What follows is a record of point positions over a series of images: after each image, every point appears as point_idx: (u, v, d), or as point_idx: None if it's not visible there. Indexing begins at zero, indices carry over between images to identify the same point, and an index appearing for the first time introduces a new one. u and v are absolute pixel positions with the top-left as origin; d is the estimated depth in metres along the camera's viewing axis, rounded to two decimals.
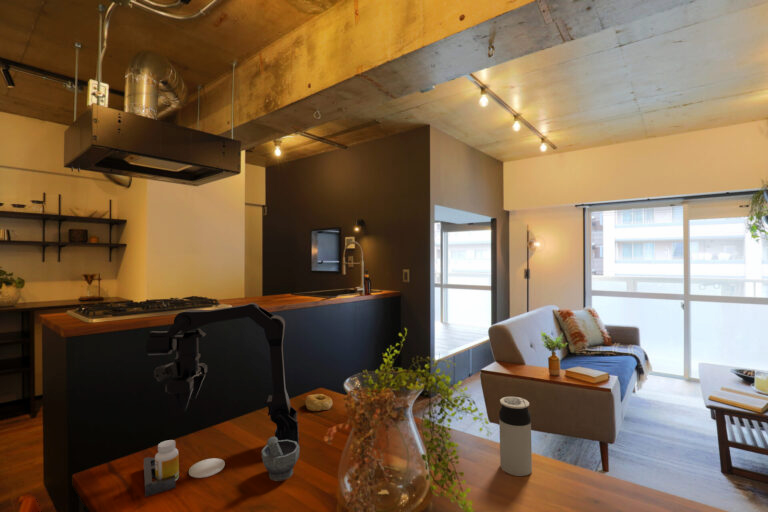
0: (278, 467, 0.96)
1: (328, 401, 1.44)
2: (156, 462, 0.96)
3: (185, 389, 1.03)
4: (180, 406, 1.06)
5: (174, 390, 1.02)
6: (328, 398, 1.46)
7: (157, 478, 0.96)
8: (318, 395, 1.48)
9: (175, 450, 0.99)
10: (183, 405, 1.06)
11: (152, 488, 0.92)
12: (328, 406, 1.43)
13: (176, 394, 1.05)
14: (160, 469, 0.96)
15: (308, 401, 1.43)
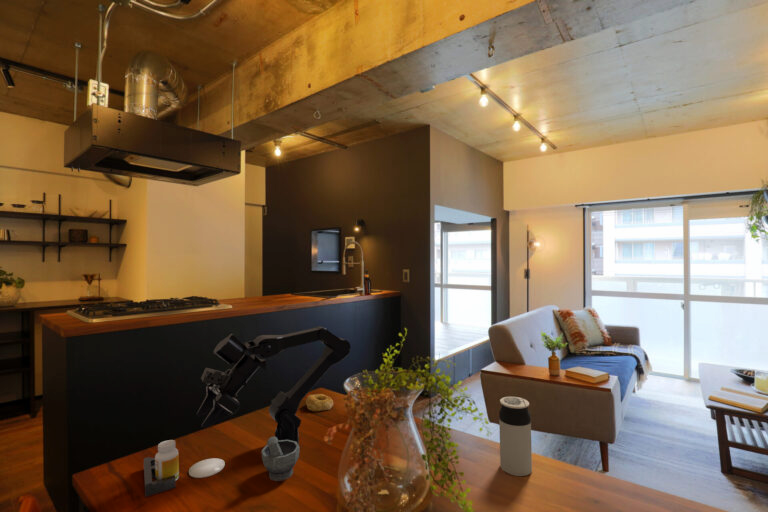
0: (278, 467, 0.96)
1: (329, 401, 1.44)
2: (156, 462, 0.96)
3: (233, 411, 0.99)
4: (207, 421, 0.99)
5: (225, 406, 0.98)
6: (328, 398, 1.46)
7: (157, 478, 0.96)
8: (319, 395, 1.48)
9: (175, 450, 0.99)
10: (209, 422, 1.00)
11: (152, 488, 0.92)
12: (329, 406, 1.42)
13: (216, 408, 1.00)
14: (160, 469, 0.96)
15: (309, 401, 1.43)
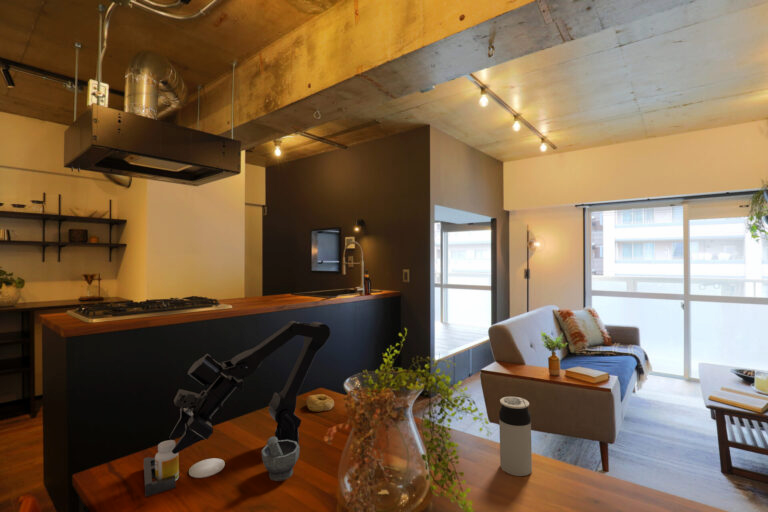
0: (278, 467, 0.96)
1: (329, 401, 1.44)
2: (156, 462, 0.96)
3: (206, 436, 0.95)
4: (178, 446, 0.95)
5: (197, 431, 0.94)
6: (329, 398, 1.46)
7: (157, 478, 0.96)
8: (319, 395, 1.48)
9: None
10: (181, 447, 0.96)
11: (152, 488, 0.92)
12: (330, 406, 1.42)
13: (188, 433, 0.96)
14: (160, 469, 0.96)
15: (309, 401, 1.42)
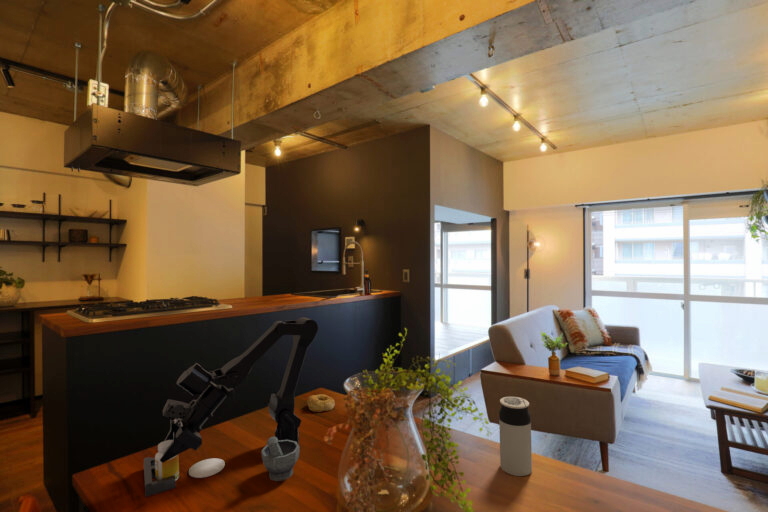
0: (278, 467, 0.96)
1: (330, 401, 1.44)
2: (156, 462, 0.96)
3: (194, 448, 0.94)
4: (166, 455, 0.95)
5: (185, 442, 0.93)
6: (330, 398, 1.45)
7: (157, 478, 0.96)
8: (320, 396, 1.48)
9: None
10: (169, 456, 0.96)
11: (152, 488, 0.92)
12: (330, 406, 1.42)
13: (176, 441, 0.96)
14: (160, 469, 0.96)
15: (310, 402, 1.42)
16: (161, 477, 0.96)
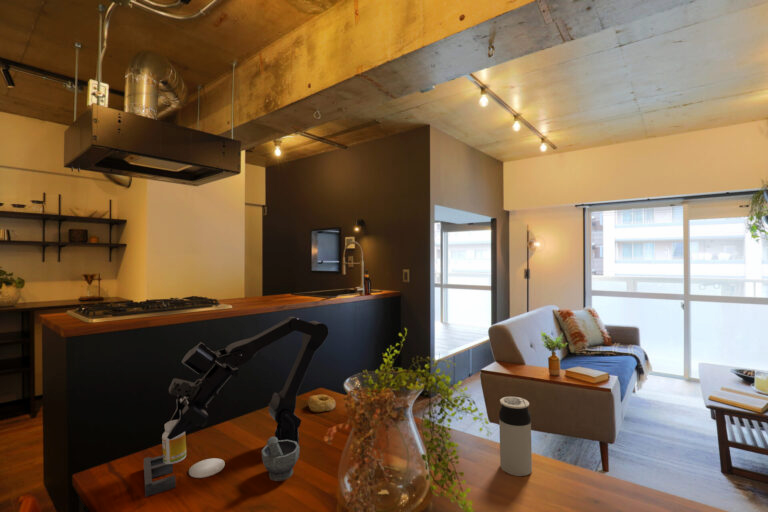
0: (278, 467, 0.96)
1: (331, 402, 1.43)
2: (163, 441, 0.97)
3: (201, 424, 0.95)
4: (173, 432, 0.96)
5: (192, 419, 0.94)
6: (331, 398, 1.45)
7: (165, 457, 0.97)
8: (321, 396, 1.47)
9: None
10: (176, 433, 0.97)
11: (152, 488, 0.92)
12: (331, 407, 1.42)
13: (182, 419, 0.97)
14: (167, 448, 0.97)
15: (311, 402, 1.42)
16: (169, 455, 0.97)
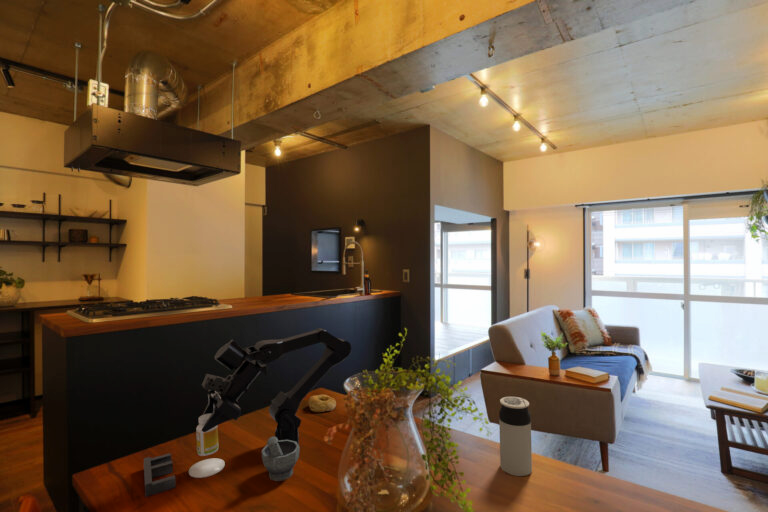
0: (278, 467, 0.96)
1: (331, 402, 1.43)
2: (198, 433, 1.02)
3: (234, 417, 0.99)
4: (207, 425, 1.01)
5: (226, 412, 0.98)
6: (331, 398, 1.45)
7: (199, 448, 1.02)
8: (321, 396, 1.47)
9: None
10: (210, 426, 1.01)
11: (152, 488, 0.92)
12: (332, 407, 1.42)
13: (216, 412, 1.01)
14: (201, 440, 1.01)
15: (311, 402, 1.42)
16: (203, 447, 1.01)
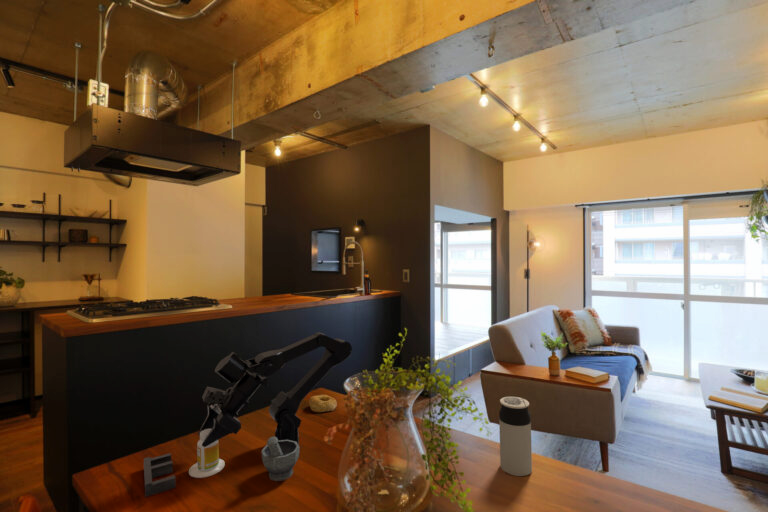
0: (278, 467, 0.96)
1: (332, 402, 1.43)
2: (199, 449, 1.02)
3: (234, 431, 0.99)
4: (207, 439, 1.00)
5: (226, 426, 0.98)
6: (332, 399, 1.45)
7: (200, 464, 1.02)
8: (322, 396, 1.47)
9: None
10: (210, 440, 1.00)
11: (152, 488, 0.92)
12: (333, 407, 1.42)
13: (216, 427, 1.00)
14: (202, 455, 1.01)
15: (312, 402, 1.42)
16: (203, 463, 1.01)
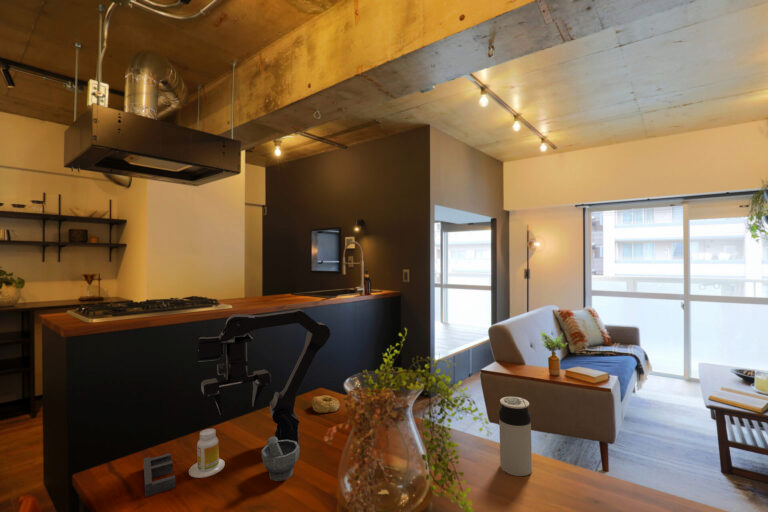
0: (278, 467, 0.96)
1: (335, 402, 1.42)
2: (199, 449, 1.02)
3: (203, 393, 1.04)
4: None
5: (202, 390, 1.06)
6: (335, 399, 1.44)
7: (200, 464, 1.02)
8: (324, 397, 1.46)
9: (215, 438, 1.05)
10: (218, 408, 1.08)
11: (152, 488, 0.92)
12: (335, 408, 1.41)
13: None
14: (202, 456, 1.01)
15: (315, 403, 1.41)
16: (203, 463, 1.01)
